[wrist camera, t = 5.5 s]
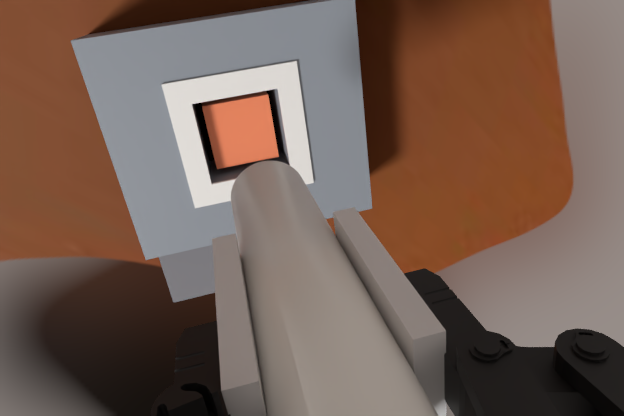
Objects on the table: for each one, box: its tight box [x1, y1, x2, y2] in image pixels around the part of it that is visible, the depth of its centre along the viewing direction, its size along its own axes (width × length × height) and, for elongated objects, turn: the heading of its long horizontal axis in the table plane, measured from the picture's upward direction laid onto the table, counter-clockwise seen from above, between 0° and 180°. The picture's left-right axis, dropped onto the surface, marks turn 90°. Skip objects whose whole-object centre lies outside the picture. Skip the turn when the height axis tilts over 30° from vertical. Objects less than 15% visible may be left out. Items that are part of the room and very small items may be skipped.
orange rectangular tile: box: [202, 91, 279, 169], centre depth 31 cm, size 4×4×1 cm
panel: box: [71, 0, 372, 260], centre depth 31 cm, size 16×14×5 cm
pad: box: [159, 245, 215, 302], centre depth 37 cm, size 6×6×1 cm
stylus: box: [231, 161, 439, 416], centre depth 13 cm, size 4×4×18 cm
